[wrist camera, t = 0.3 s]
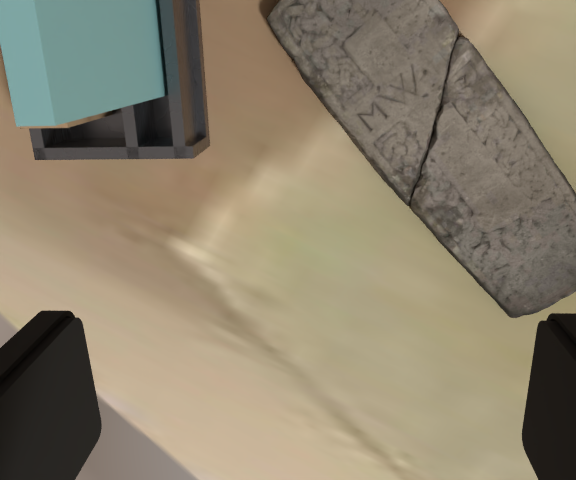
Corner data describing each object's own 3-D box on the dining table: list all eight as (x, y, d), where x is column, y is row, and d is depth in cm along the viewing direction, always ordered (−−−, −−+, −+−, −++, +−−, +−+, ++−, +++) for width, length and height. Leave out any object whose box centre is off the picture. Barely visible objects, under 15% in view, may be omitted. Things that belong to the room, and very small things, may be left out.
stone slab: (508, 337, 41) (253, 22, 34) (494, 317, 44) (257, 23, 37) (630, 259, 39) (382, -101, 31) (607, 244, 42) (376, -89, 34)
